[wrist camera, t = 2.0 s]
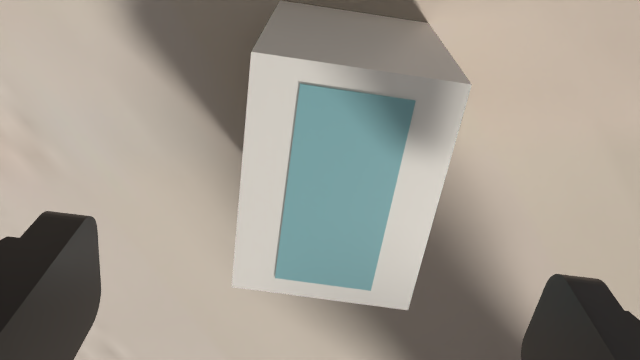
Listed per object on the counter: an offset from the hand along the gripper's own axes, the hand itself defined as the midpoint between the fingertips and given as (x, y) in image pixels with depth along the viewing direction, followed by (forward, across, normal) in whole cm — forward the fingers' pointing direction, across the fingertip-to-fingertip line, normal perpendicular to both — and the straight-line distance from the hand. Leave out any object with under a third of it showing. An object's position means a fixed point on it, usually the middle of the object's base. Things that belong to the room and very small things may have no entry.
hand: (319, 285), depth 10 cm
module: (+9, 0, 0) cm, 9 cm away
